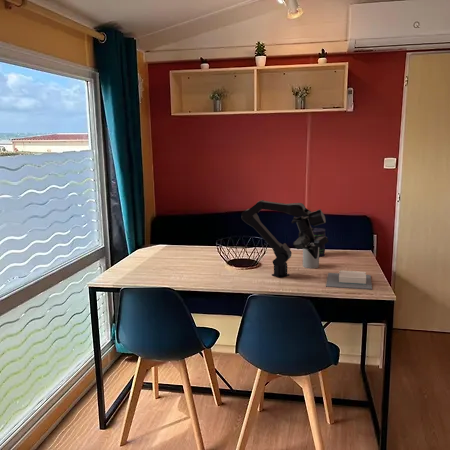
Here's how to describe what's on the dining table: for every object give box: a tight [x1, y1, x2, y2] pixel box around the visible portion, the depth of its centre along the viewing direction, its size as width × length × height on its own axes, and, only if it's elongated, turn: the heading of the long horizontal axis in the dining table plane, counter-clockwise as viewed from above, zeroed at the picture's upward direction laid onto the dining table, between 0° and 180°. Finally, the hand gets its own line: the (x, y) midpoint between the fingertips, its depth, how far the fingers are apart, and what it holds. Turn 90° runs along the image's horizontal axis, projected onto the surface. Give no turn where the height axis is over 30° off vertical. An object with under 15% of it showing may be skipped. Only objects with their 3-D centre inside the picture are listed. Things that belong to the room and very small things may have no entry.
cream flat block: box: [338, 270, 367, 285], centre depth 214 cm, size 3×10×12 cm
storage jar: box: [312, 227, 326, 258], centre depth 260 cm, size 10×10×15 cm
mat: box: [325, 272, 373, 291], centre depth 215 cm, size 20×20×1 cm
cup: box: [302, 248, 320, 270], centre depth 239 cm, size 8×8×10 cm
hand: (316, 258), depth 219 cm, fingers closed
